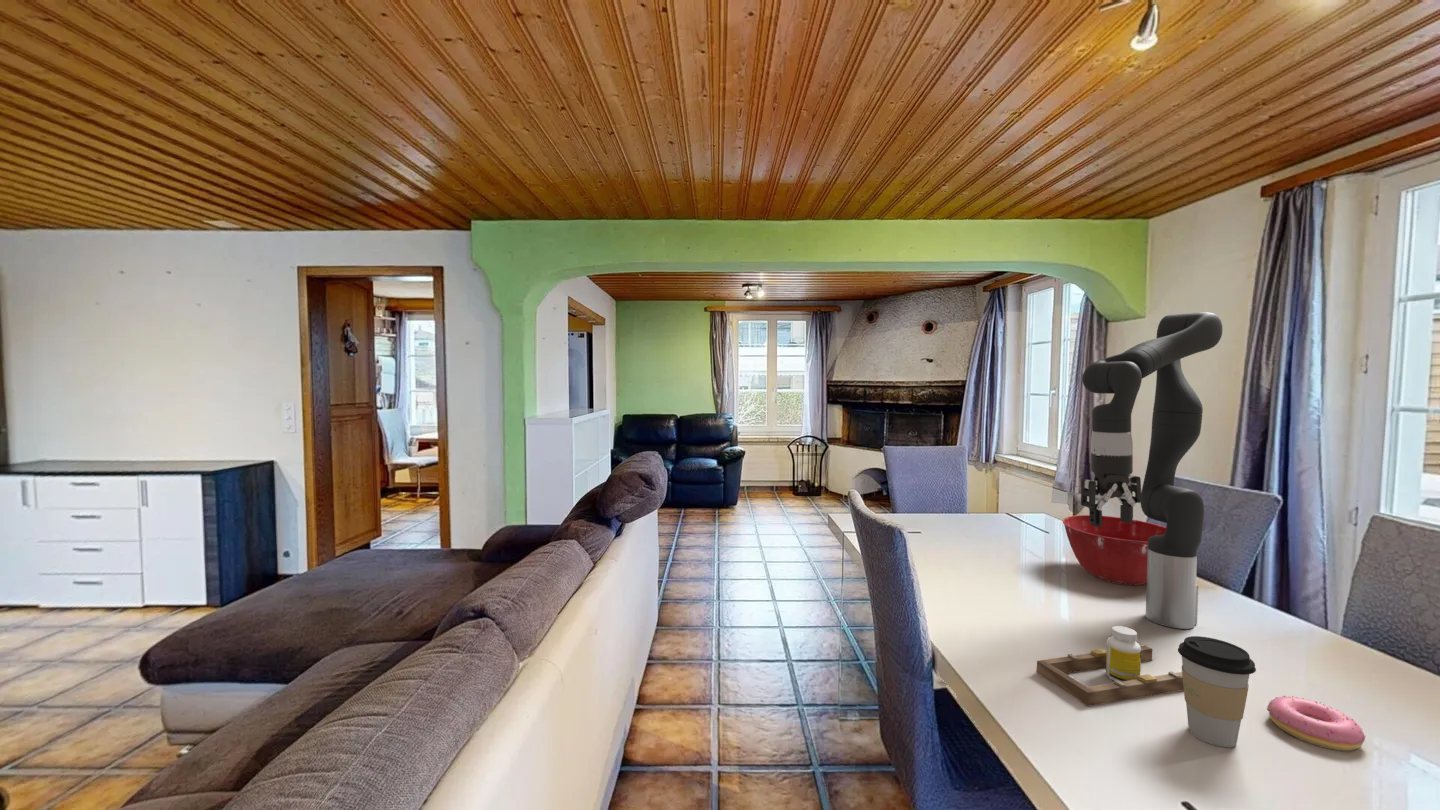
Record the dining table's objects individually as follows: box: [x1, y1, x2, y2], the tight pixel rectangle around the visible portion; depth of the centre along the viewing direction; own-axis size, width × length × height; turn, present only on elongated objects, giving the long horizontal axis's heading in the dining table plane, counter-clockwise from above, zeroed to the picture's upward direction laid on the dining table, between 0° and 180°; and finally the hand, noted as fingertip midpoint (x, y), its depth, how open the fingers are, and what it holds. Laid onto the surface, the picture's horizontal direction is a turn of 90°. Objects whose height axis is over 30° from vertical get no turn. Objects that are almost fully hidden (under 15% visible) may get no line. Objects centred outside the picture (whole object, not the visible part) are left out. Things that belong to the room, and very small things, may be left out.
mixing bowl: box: [1062, 514, 1166, 586], centre depth 161 cm, size 28×28×16 cm
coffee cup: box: [1177, 635, 1257, 748], centre depth 89 cm, size 9×9×15 cm
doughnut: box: [1266, 695, 1366, 752], centre depth 90 cm, size 11×11×4 cm
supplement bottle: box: [1105, 625, 1142, 682], centre depth 106 cm, size 5×5×10 cm
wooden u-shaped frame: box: [1036, 645, 1184, 707], centre depth 106 cm, size 28×12×3 cm, turn 103°
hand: (1111, 524), depth 120 cm, fingers open, 8 cm apart
